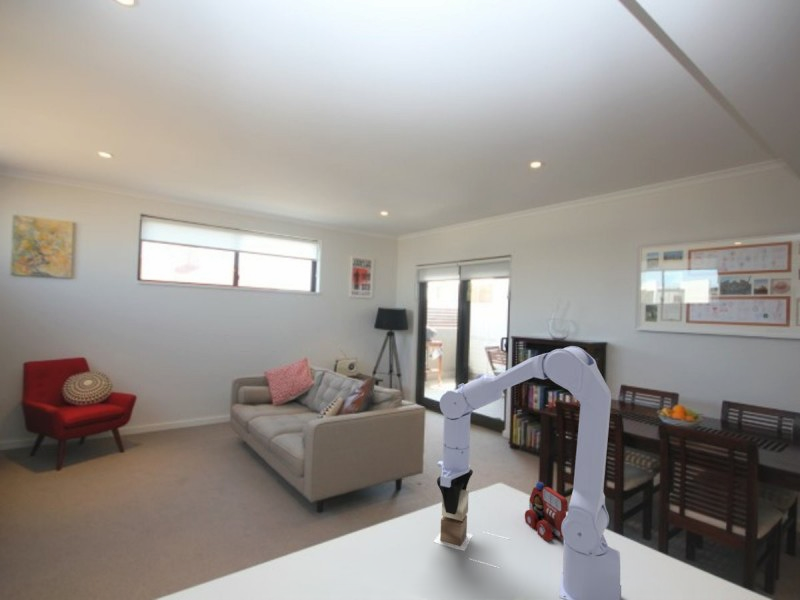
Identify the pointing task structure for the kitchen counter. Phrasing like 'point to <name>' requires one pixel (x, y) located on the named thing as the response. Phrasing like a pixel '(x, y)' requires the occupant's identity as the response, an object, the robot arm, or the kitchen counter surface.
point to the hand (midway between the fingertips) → (454, 507)
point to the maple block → (461, 509)
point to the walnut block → (453, 530)
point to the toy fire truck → (546, 511)
